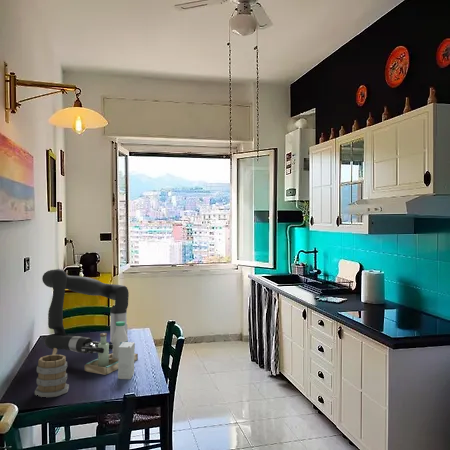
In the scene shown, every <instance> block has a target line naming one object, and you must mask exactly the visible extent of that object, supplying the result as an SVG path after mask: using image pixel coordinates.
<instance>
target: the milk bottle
mask: <svg viewBox="0 0 450 450" xmlns="http://www.w3.org/2000/svg"><path fill="white" fill-rule="evenodd" d="M124 327H125V322H123V321H119V322H116V330H115V333H114V335H113V341H112V343H111V344H112V345H113V349H111V351H112V358H113V359H118V357H119V346H120V345H121V344H122V342H129V338H128V333H127V334H126V331H125V328H124Z"/></svg>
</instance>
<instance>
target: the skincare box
mask: <svg viewBox="0 0 450 450" xmlns="http://www.w3.org/2000/svg"><path fill="white" fill-rule="evenodd" d="M135 345H136V343H135V342H134V341H128V342H122V344H121V345H120V346H119V357H118V369H117V379H118V380H131V379H132V377H133V375H134V374H135V361H134V353H135V351H136V348H135ZM135 354H136V353H135Z"/></svg>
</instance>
